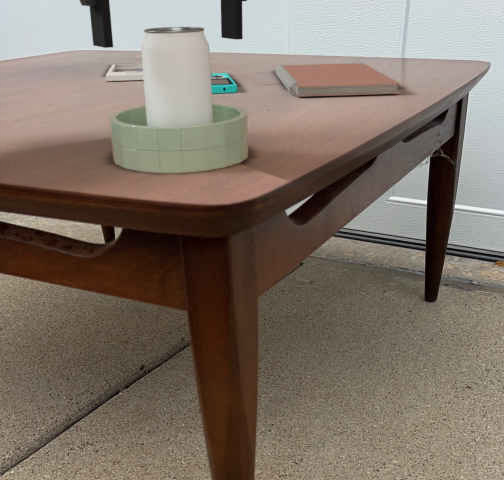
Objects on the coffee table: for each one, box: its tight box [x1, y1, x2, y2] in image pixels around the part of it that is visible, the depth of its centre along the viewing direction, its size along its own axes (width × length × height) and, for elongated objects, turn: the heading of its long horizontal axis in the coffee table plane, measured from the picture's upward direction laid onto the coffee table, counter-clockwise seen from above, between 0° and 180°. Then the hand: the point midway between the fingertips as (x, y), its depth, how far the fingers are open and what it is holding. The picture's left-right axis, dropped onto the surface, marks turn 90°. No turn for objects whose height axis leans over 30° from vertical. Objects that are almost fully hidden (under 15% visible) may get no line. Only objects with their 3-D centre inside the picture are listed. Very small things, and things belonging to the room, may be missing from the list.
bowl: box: [108, 102, 249, 174], centre depth 69 cm, size 13×13×5 cm
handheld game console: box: [211, 72, 238, 95], centre depth 118 cm, size 10×16×1 cm, turn 8°
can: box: [140, 26, 213, 127], centre depth 67 cm, size 6×6×12 cm
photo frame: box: [105, 63, 143, 82], centre depth 134 cm, size 15×1×18 cm
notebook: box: [275, 62, 401, 98], centre depth 118 cm, size 27×17×2 cm, turn 4°
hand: (170, 42), depth 65 cm, fingers open, 13 cm apart
